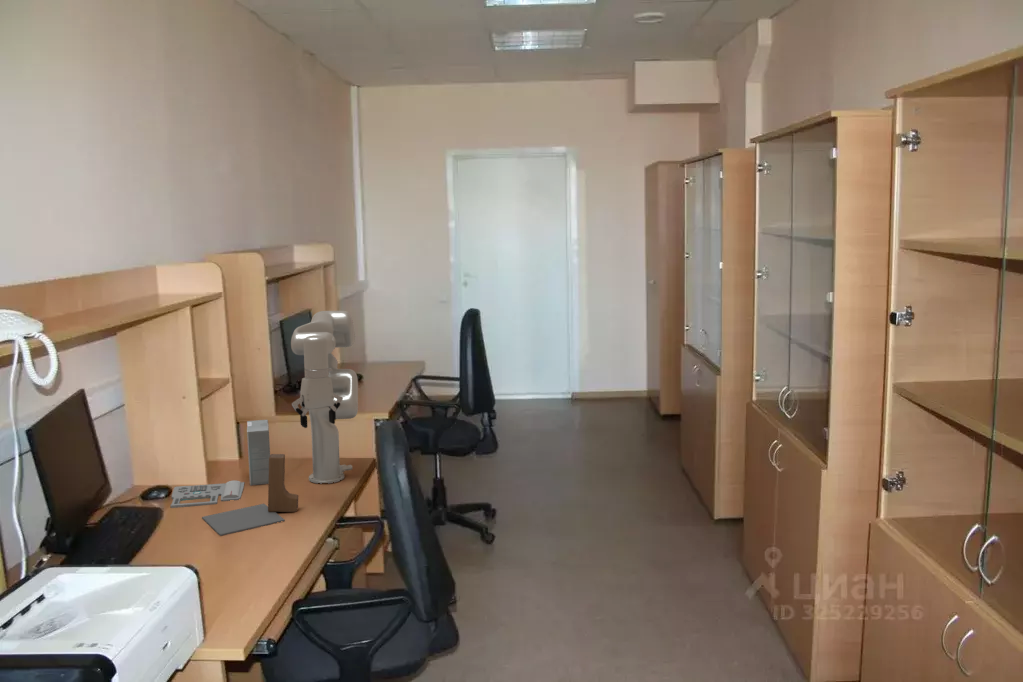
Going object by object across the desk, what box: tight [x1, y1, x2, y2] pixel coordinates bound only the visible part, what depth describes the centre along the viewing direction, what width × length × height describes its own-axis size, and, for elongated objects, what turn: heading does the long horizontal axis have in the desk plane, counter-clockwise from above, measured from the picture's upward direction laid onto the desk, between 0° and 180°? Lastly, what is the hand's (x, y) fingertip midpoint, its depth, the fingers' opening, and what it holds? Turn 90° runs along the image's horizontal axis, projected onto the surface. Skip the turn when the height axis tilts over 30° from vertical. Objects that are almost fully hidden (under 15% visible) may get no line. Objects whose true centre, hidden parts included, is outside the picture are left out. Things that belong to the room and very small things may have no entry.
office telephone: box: [170, 480, 245, 509], centre depth 278 cm, size 23×3×20 cm
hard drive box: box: [246, 419, 271, 486], centre depth 295 cm, size 16×8×20 cm, turn 17°
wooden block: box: [267, 453, 299, 513], centre depth 262 cm, size 9×4×18 cm, turn 99°
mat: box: [201, 503, 286, 537], centre depth 256 cm, size 20×18×1 cm
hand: (318, 424), depth 267 cm, fingers open, 9 cm apart
